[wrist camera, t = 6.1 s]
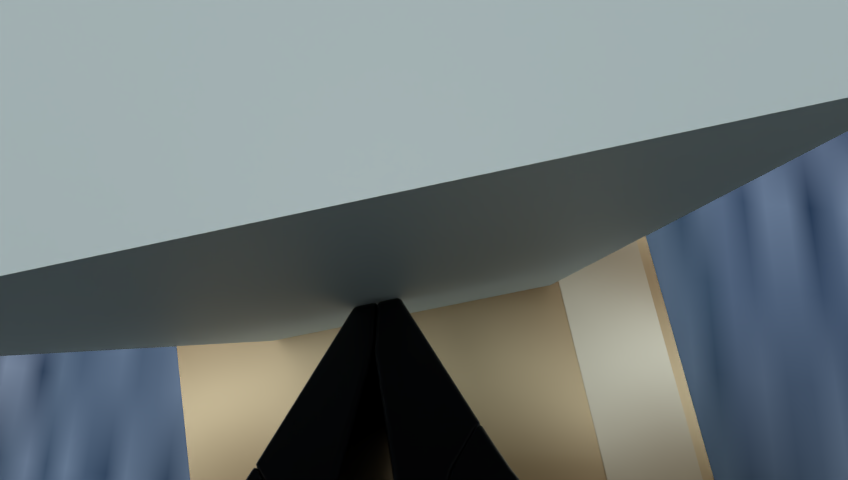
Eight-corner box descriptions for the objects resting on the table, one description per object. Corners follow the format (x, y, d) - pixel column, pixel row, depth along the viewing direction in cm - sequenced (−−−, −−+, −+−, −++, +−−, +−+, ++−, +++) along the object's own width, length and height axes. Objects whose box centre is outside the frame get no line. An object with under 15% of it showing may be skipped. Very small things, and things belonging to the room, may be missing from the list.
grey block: (664, 262, 14) (1654, -72, 2) (273, 340, 15) (-517, 384, 3) (608, 66, 15) (1097, -821, 4) (246, 145, 16) (-400, -407, 4)
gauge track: (755, 681, 13) (781, 713, 12) (239, 767, 14) (221, 804, 13) (541, -93, 18) (546, -121, 17) (156, -4, 18) (136, -25, 17)
